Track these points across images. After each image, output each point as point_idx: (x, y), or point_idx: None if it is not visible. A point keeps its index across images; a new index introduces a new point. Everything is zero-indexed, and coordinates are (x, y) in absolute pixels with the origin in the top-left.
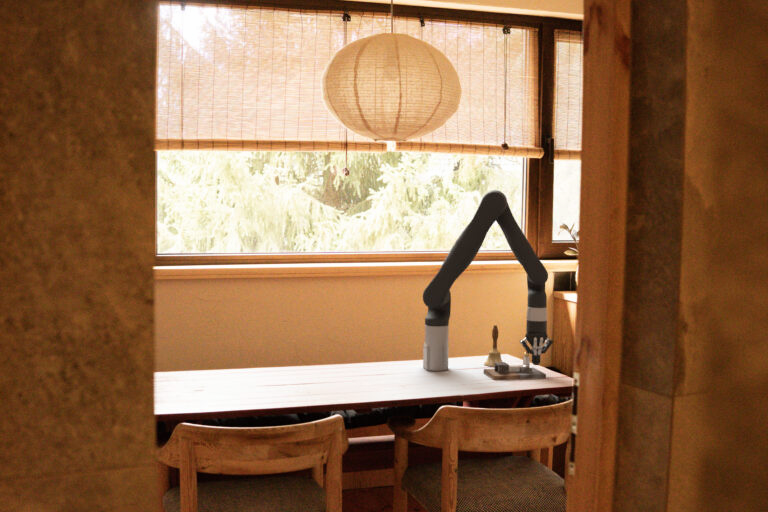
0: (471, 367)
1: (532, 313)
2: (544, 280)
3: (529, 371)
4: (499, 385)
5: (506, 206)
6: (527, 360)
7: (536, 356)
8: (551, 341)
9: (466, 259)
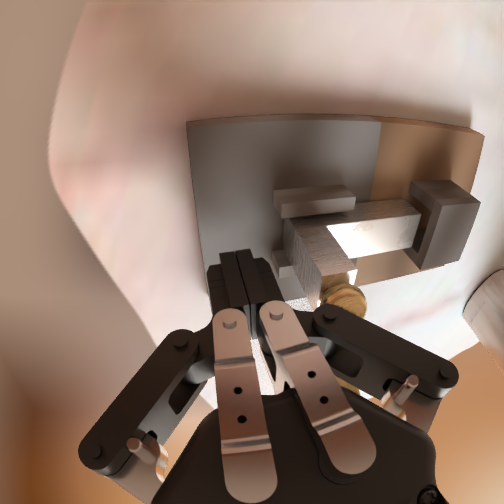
0: (412, 325)
1: None
2: None
3: (294, 192)
4: (485, 35)
5: None
6: (330, 255)
7: (255, 296)
8: (96, 454)
9: None
